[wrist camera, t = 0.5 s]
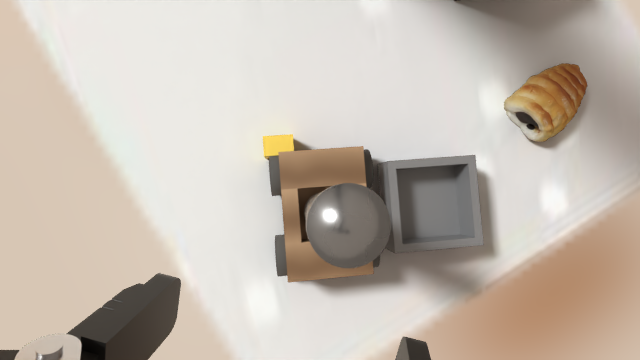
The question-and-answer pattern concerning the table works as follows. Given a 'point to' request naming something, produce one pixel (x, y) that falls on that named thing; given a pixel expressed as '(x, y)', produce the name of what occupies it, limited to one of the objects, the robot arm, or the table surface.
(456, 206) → the tray
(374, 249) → the pin
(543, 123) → the pastry
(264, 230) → the table surface
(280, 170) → the trolley
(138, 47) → the table surface
